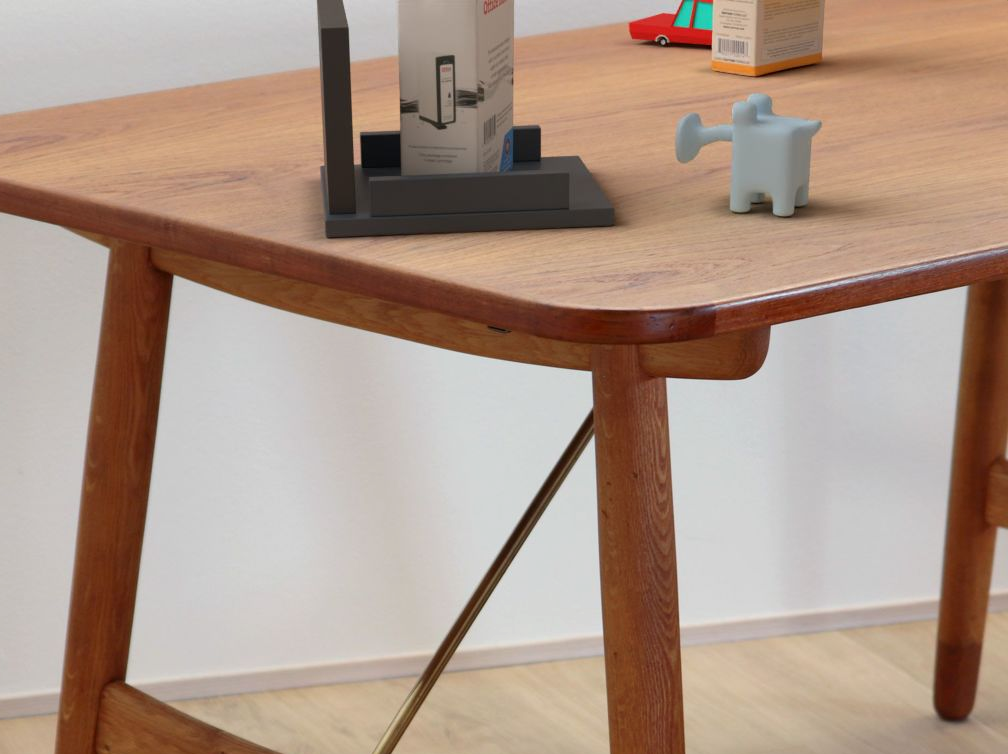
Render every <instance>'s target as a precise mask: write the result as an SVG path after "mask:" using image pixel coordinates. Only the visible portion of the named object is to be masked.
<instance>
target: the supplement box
mask: <svg viewBox="0 0 1008 754" xmlns="http://www.w3.org/2000/svg"><path fill="white" fill-rule="evenodd" d="M825 4H826V0H713V32H712V45H711V69H712V71H715V72H719V73H720V72H721V73H727V74H732V75H733V74H734V75H740V76H748V77H758V76H762V75H766V74H770V73H774V72H779V71H783V70H788V69H794V68H798V67H802V66H809V65H814V64H818V63H821V62H822V61H823V44H824V25H825V23H824V22H825V6H826V5H825Z"/></svg>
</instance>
